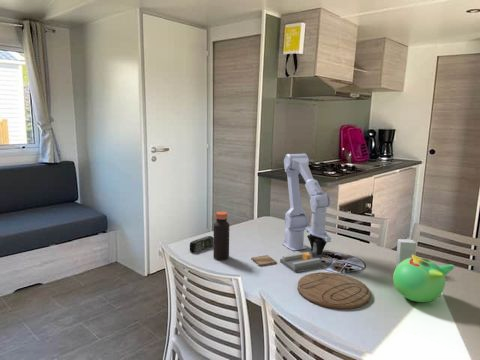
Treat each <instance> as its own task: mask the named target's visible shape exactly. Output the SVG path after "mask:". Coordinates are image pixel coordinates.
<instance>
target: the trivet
mask: <svg viewBox="0 0 480 360" xmlns="http://www.w3.org/2000/svg"><path fill="white" fill-rule="evenodd" d="M297 291H298V294H299V295H300V296H301V298H303V299H304V300H306V301H307V302H309V303H311V304H313V305H316V306H318V307H321V308H326V309H333V310H338V311H339V310H340V311H341V310H343V311H345V310H346V311H347V310H354V309H359V308H361V307H364V306H366V305H367V304H368V303H369V302H370V299H371V292H370V288H369V287H368V286H367V285H366V284H365V283H364V282H363V281H361V280H359V279H358V278H355V277H352V276H349V275H346V274H342V273H338V272H330V271H328V272H327V271H326V272H322V271H321V272H313V273H309V274H308V273H307V274H305V275H304V276H301V278H299V280H298V281H297Z"/></svg>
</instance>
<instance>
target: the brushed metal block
mask: <svg viewBox="0 0 480 360" xmlns="http://www.w3.org/2000/svg"><path fill="white" fill-rule="evenodd" d="M311 252H312V255H311V256H312V257H313V258H315V259H316V258H320V259H321V260H322V259H323V252H324V251H323V252H322V255H317V247H316V242H315V241H313V251H312V250H311Z"/></svg>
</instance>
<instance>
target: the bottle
mask: <svg viewBox="0 0 480 360" xmlns="http://www.w3.org/2000/svg"><path fill="white" fill-rule="evenodd" d="M215 219H216V221H215V222H214V223H213V239H214V240H213V242H214V243H213V259H215V260H216V259H217V261H225V260H227V259H229V258H230V223H229V222H228V212H227V211H217V212H216V213H215Z"/></svg>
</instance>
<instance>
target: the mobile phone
mask: <svg viewBox="0 0 480 360" xmlns="http://www.w3.org/2000/svg"><path fill="white" fill-rule="evenodd" d="M211 246H214V236H211V235H208V236H204V237H201V238H197V239H195V240H191V242H189V252H190V253H196V252H198V250H199V251H202V250H204V249H203V248H205V249H208V248H210V247H211ZM207 247H208V248H207ZM201 249H202V250H201Z"/></svg>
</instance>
